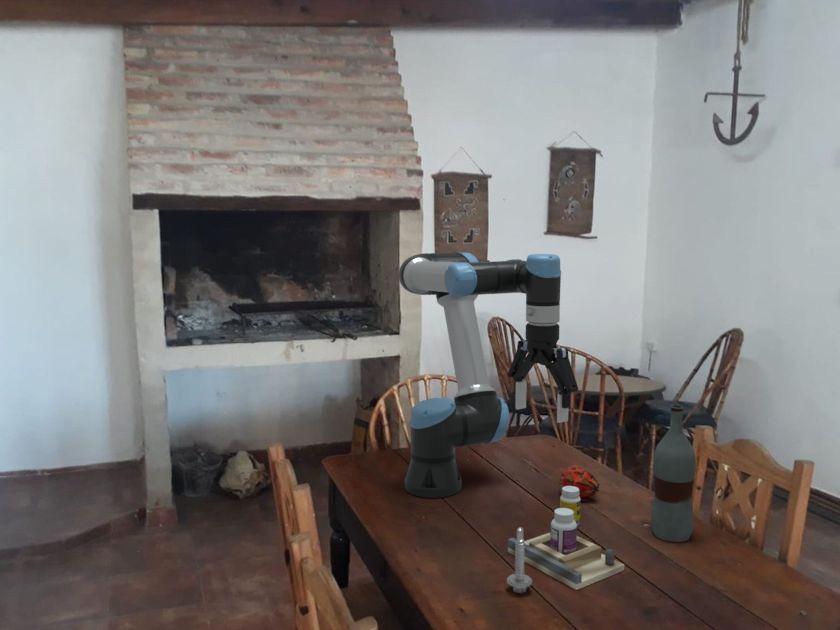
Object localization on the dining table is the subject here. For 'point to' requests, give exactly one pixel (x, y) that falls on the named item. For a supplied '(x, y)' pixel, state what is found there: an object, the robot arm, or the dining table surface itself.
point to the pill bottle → (564, 531)
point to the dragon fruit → (580, 481)
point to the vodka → (673, 483)
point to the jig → (569, 561)
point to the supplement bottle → (571, 501)
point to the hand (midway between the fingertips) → (541, 415)
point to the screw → (519, 566)
